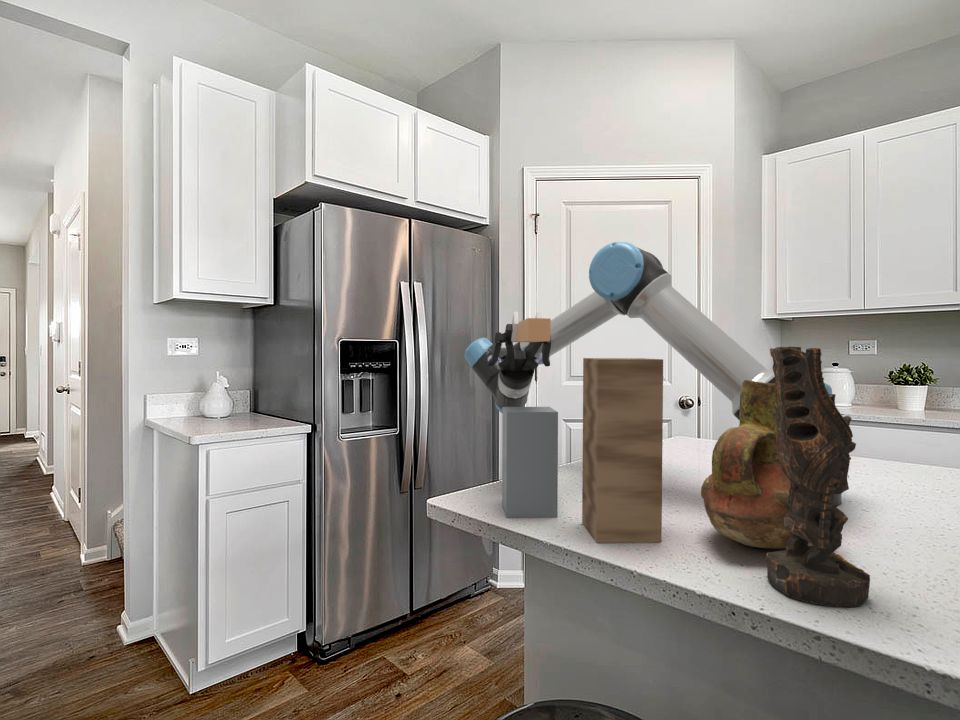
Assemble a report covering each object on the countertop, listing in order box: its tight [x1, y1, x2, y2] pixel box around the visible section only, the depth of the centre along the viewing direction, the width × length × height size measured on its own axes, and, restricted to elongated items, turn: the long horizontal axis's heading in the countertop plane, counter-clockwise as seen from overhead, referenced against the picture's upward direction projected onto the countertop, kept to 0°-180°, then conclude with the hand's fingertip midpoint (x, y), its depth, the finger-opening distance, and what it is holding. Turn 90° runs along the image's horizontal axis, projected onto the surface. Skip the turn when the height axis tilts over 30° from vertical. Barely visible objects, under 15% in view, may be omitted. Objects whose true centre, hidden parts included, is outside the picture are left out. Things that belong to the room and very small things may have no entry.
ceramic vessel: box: [700, 380, 830, 550], centre depth 87 cm, size 17×26×25 cm, turn 131°
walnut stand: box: [581, 357, 664, 544], centre depth 91 cm, size 10×10×28 cm
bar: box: [514, 317, 552, 343], centre depth 103 cm, size 25×4×4 cm, turn 2°
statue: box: [765, 346, 871, 608], centre depth 70 cm, size 10×10×30 cm
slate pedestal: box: [501, 406, 559, 519], centre depth 104 cm, size 9×9×18 cm
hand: (527, 317), depth 106 cm, fingers closed on bar, 4 cm apart
